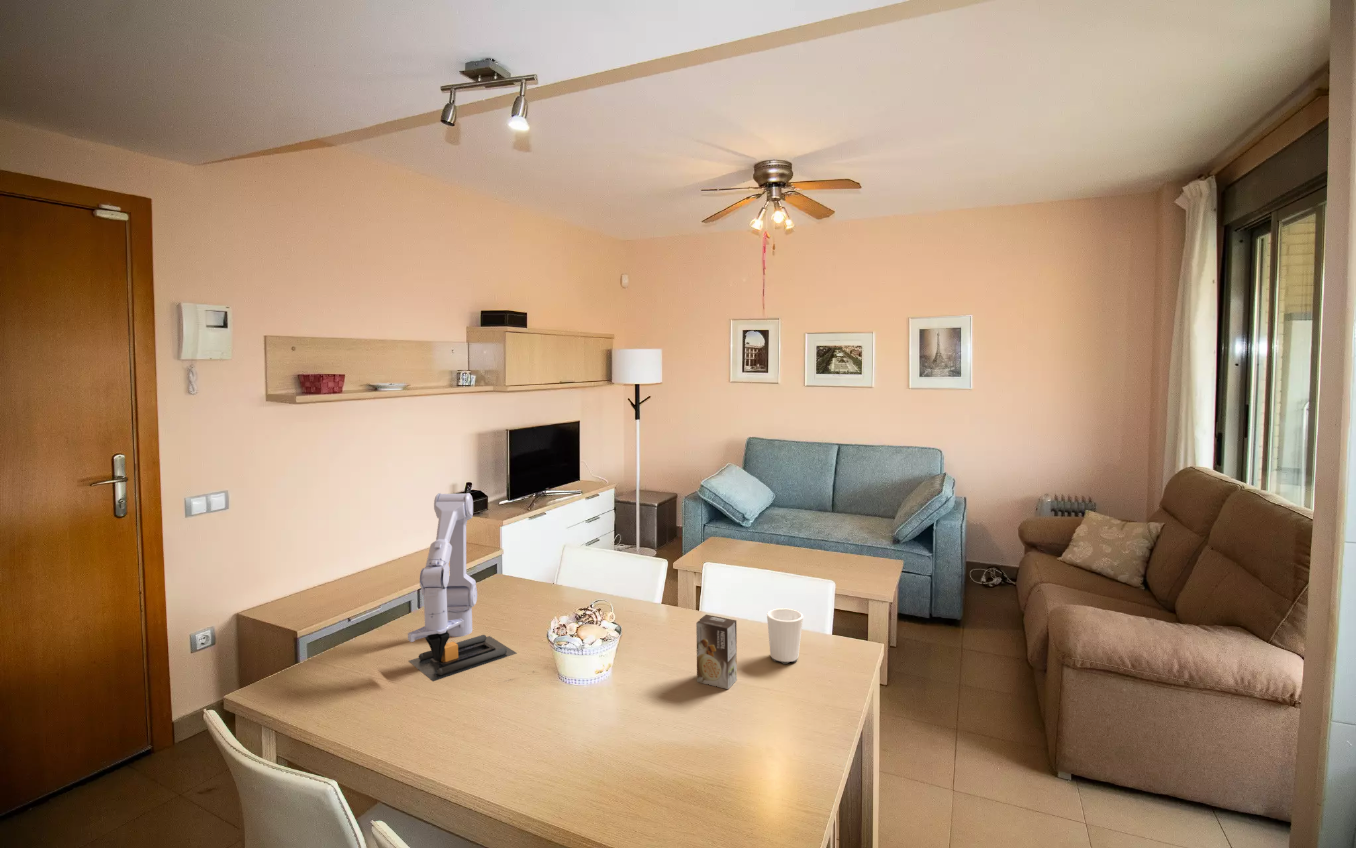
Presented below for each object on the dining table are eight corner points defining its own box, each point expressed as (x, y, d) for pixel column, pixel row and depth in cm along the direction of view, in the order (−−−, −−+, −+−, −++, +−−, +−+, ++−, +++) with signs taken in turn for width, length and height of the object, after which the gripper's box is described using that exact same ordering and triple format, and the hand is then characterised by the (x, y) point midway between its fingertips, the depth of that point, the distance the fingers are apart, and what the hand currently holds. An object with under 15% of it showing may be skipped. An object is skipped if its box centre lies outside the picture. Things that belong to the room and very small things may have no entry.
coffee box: (737, 679, 176) (738, 619, 174) (728, 690, 170) (728, 628, 169) (706, 672, 180) (706, 613, 178) (695, 682, 174) (695, 622, 173)
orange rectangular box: (441, 661, 183) (440, 645, 182) (453, 657, 185) (453, 641, 185) (445, 664, 181) (445, 648, 180) (458, 660, 183) (457, 644, 183)
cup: (801, 652, 192) (801, 608, 191) (803, 667, 182) (804, 622, 181) (765, 650, 193) (766, 607, 192) (766, 666, 183) (767, 620, 182)
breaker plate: (408, 666, 183) (408, 657, 183) (489, 641, 200) (489, 632, 200) (433, 687, 172) (432, 677, 172) (517, 658, 188) (517, 649, 188)
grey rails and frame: (417, 659, 184) (417, 653, 184) (484, 639, 197) (484, 633, 197) (439, 677, 174) (438, 670, 174) (508, 654, 187) (508, 648, 187)
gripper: (414, 622, 171) (416, 673, 173) (468, 607, 181) (470, 656, 183) (403, 614, 177) (405, 664, 178) (456, 600, 186) (458, 648, 188)
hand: (437, 659), depth 181 cm, fingers closed
